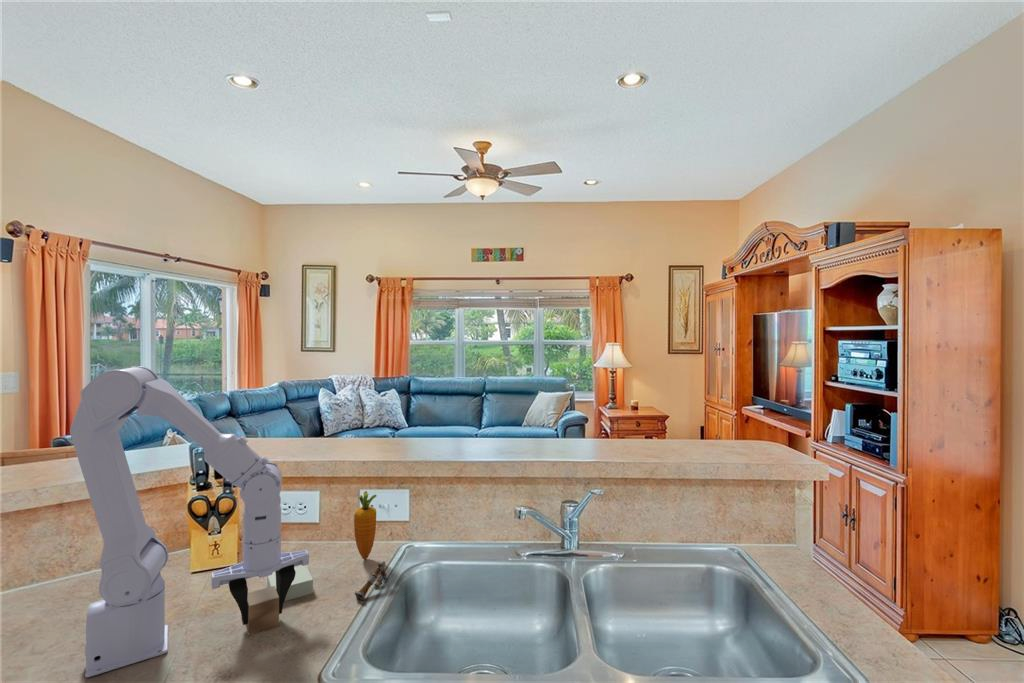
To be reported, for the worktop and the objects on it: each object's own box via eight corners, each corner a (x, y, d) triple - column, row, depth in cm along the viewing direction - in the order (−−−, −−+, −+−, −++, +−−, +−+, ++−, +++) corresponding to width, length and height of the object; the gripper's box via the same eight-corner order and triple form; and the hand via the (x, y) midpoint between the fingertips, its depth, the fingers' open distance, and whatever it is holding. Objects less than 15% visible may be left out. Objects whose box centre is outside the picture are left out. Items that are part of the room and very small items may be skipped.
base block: (272, 606, 86) (272, 590, 86) (267, 589, 92) (267, 573, 92) (312, 594, 90) (312, 579, 90) (305, 578, 96) (305, 564, 96)
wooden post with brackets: (392, 575, 95) (387, 559, 93) (368, 610, 88) (361, 594, 87) (385, 573, 96) (379, 557, 94) (360, 608, 89) (354, 591, 87)
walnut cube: (248, 636, 77) (248, 606, 77) (245, 622, 80) (245, 593, 80) (278, 626, 79) (279, 597, 79) (274, 613, 83) (274, 585, 83)
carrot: (359, 553, 106) (360, 487, 106) (380, 555, 106) (380, 488, 105) (349, 564, 101) (349, 494, 101) (370, 565, 101) (371, 496, 100)
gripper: (213, 557, 72) (213, 645, 72) (313, 535, 81) (312, 613, 81) (210, 541, 78) (210, 622, 78) (304, 521, 86) (303, 594, 87)
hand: (262, 616), depth 80 cm, fingers closed on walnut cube, 4 cm apart
